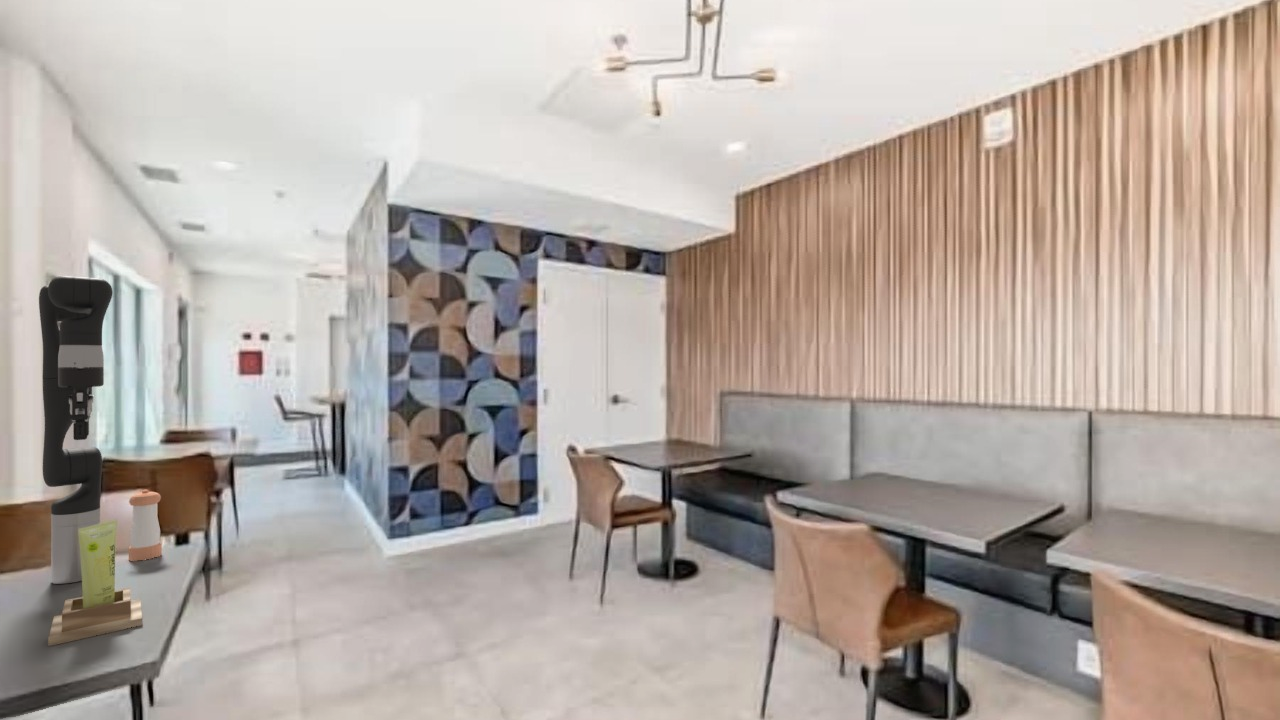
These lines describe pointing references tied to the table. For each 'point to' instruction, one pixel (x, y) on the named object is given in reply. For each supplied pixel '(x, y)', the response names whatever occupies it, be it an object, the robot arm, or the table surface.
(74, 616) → the socket block
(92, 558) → the tube
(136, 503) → the pepper shaker
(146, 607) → the table surface
